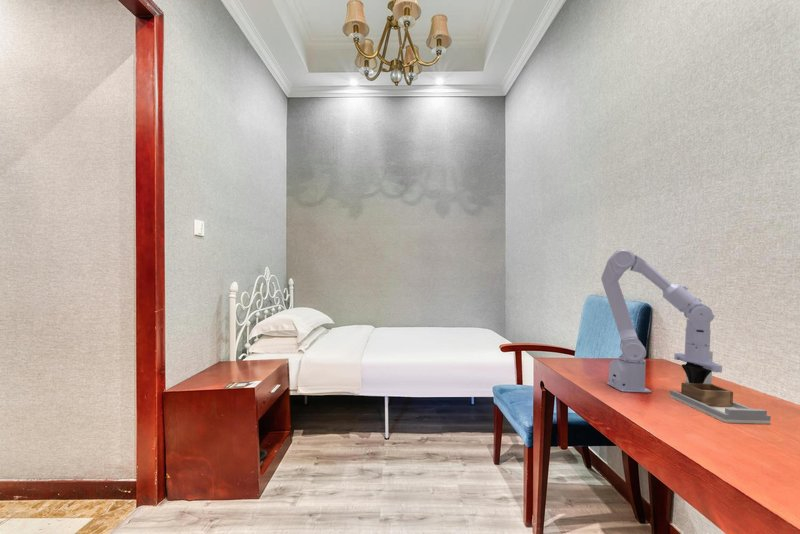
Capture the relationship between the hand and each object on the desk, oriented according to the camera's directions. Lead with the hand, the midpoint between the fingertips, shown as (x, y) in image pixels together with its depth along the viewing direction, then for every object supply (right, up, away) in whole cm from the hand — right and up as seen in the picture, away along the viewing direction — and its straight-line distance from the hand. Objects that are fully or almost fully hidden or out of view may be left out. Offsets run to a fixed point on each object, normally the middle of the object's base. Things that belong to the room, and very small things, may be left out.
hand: (695, 389), depth 109 cm
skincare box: (+12, -3, +14) cm, 19 cm away
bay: (-1, -3, -8) cm, 8 cm away
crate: (-1, -2, -5) cm, 5 cm away
